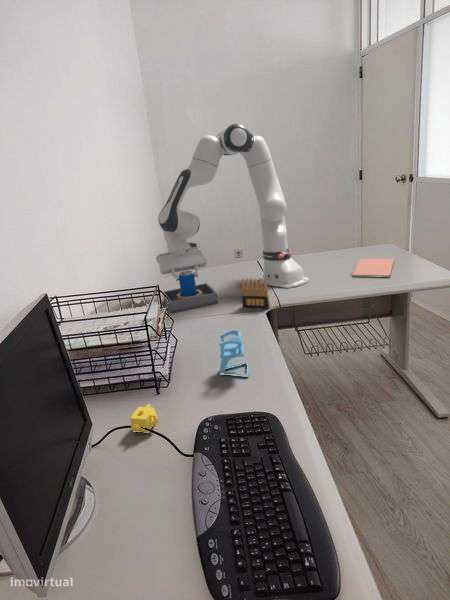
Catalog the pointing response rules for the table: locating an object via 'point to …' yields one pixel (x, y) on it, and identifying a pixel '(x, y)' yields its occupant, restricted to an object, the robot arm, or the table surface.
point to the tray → (191, 298)
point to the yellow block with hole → (143, 418)
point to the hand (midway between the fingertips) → (187, 278)
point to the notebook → (373, 267)
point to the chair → (231, 351)
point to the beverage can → (187, 284)
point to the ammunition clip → (255, 295)
